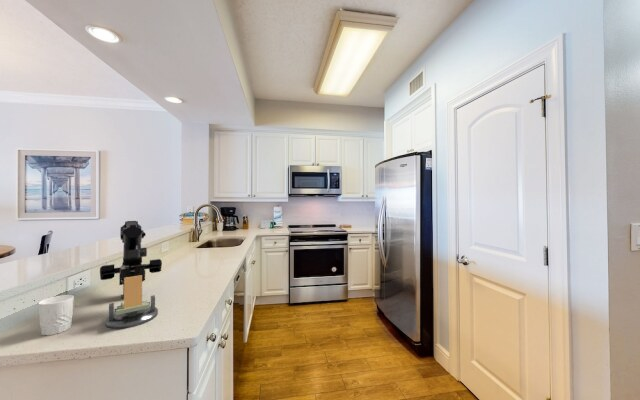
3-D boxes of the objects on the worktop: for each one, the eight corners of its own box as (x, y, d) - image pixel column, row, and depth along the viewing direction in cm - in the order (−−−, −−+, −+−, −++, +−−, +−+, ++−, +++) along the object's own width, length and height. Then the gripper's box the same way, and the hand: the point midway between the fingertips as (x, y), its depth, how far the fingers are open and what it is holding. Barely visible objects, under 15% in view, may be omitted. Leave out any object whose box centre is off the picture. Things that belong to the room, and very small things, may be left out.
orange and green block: (115, 310, 91) (115, 278, 93) (148, 303, 97) (148, 273, 99) (113, 315, 80) (114, 279, 82) (151, 307, 86) (151, 274, 88)
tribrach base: (106, 316, 90) (106, 298, 90) (156, 306, 99) (156, 289, 99) (103, 334, 78) (103, 313, 78) (159, 320, 87) (160, 301, 87)
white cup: (55, 324, 84) (55, 295, 84) (80, 323, 85) (80, 294, 85) (30, 337, 76) (30, 304, 76) (57, 336, 77) (58, 303, 77)
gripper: (100, 243, 90) (97, 281, 81) (161, 239, 101) (164, 272, 92) (102, 261, 96) (99, 298, 87) (159, 255, 107) (162, 287, 99)
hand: (132, 288), depth 91 cm, fingers closed
